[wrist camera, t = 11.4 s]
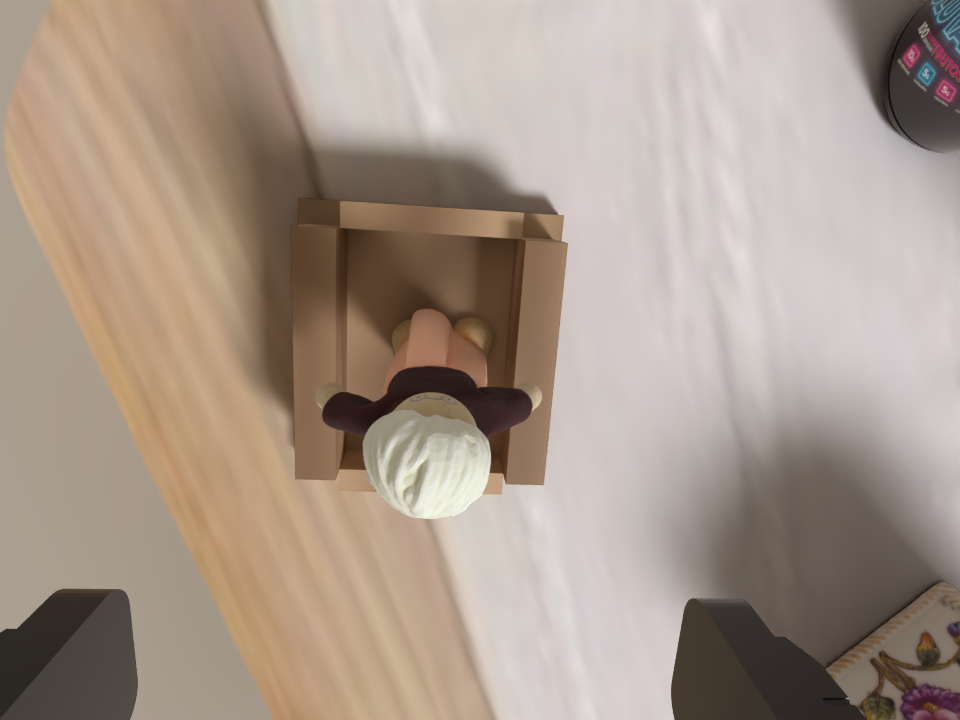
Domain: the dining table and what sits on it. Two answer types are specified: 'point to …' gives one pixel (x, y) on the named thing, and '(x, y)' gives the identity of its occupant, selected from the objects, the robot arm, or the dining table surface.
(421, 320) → the grandmother figurine
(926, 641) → the decorative jar
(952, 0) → the supplement container
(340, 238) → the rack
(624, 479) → the dining table surface
